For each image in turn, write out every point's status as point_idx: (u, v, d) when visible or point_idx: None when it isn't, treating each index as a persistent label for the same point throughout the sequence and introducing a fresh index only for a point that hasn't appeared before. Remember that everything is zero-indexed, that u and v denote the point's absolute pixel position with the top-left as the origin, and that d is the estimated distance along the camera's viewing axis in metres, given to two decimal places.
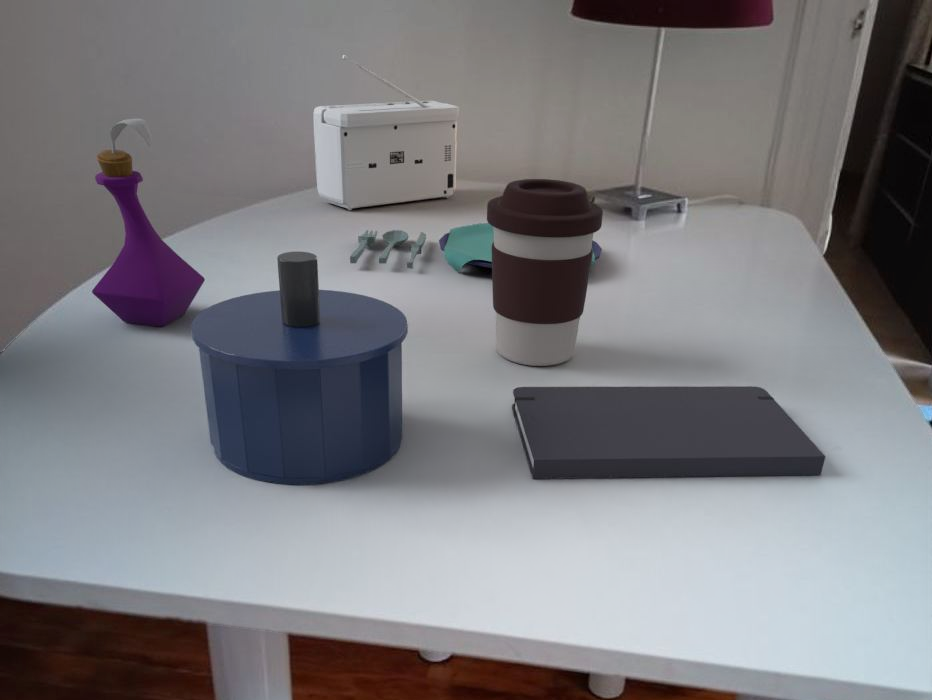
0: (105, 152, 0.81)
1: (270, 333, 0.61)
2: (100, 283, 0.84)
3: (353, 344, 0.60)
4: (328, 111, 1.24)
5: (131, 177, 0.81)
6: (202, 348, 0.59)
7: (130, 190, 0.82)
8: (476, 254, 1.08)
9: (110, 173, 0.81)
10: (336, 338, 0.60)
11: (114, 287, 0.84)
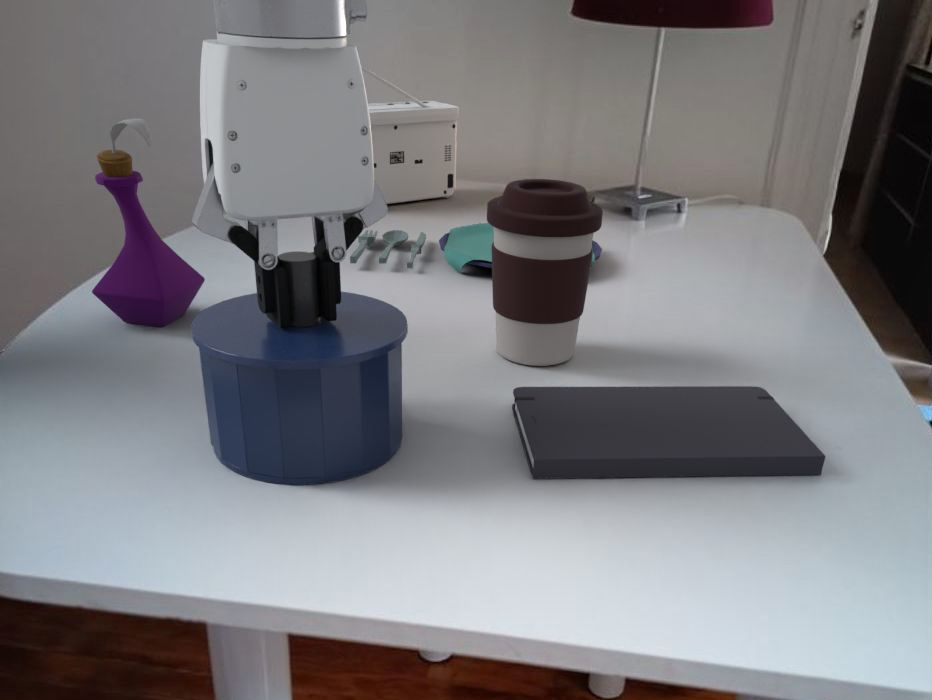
0: (105, 152, 0.81)
1: (270, 333, 0.61)
2: (100, 283, 0.84)
3: (353, 344, 0.60)
4: None
5: (131, 177, 0.81)
6: (202, 348, 0.59)
7: (130, 190, 0.82)
8: (476, 254, 1.08)
9: (110, 173, 0.81)
10: (336, 338, 0.60)
11: (114, 287, 0.84)
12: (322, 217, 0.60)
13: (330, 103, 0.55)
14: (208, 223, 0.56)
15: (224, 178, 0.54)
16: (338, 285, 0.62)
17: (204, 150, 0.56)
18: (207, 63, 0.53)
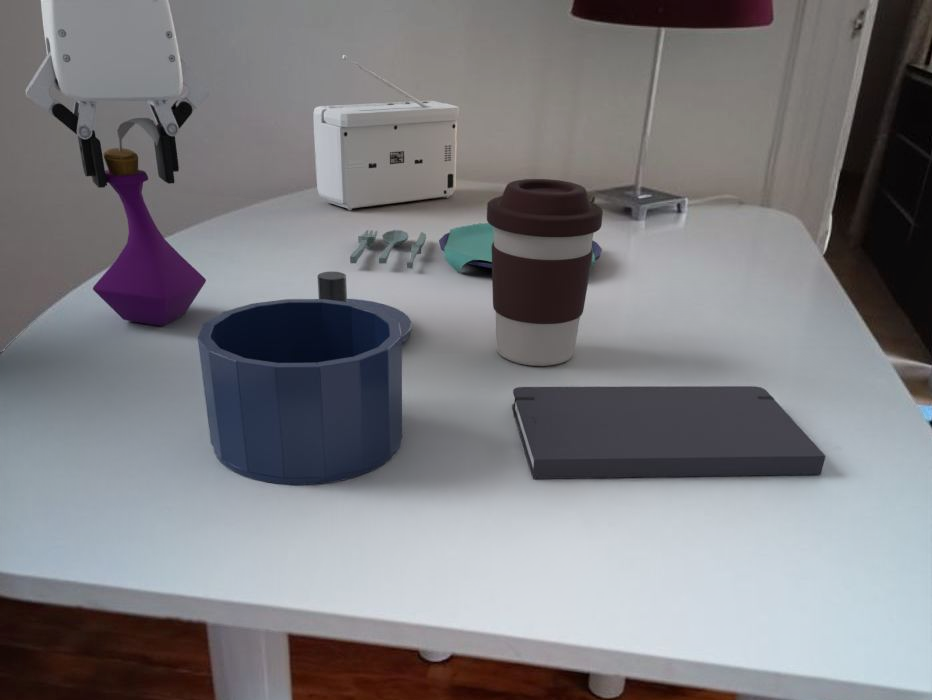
0: (111, 150, 0.81)
1: None
2: (102, 280, 0.84)
3: None
4: (328, 111, 1.24)
5: (137, 175, 0.81)
6: None
7: (135, 188, 0.82)
8: (476, 254, 1.08)
9: (116, 171, 0.81)
10: None
11: (115, 284, 0.84)
12: (152, 103, 0.79)
13: (138, 11, 0.74)
14: (36, 94, 0.75)
15: (58, 65, 0.73)
16: (175, 155, 0.82)
17: (46, 47, 0.75)
18: None
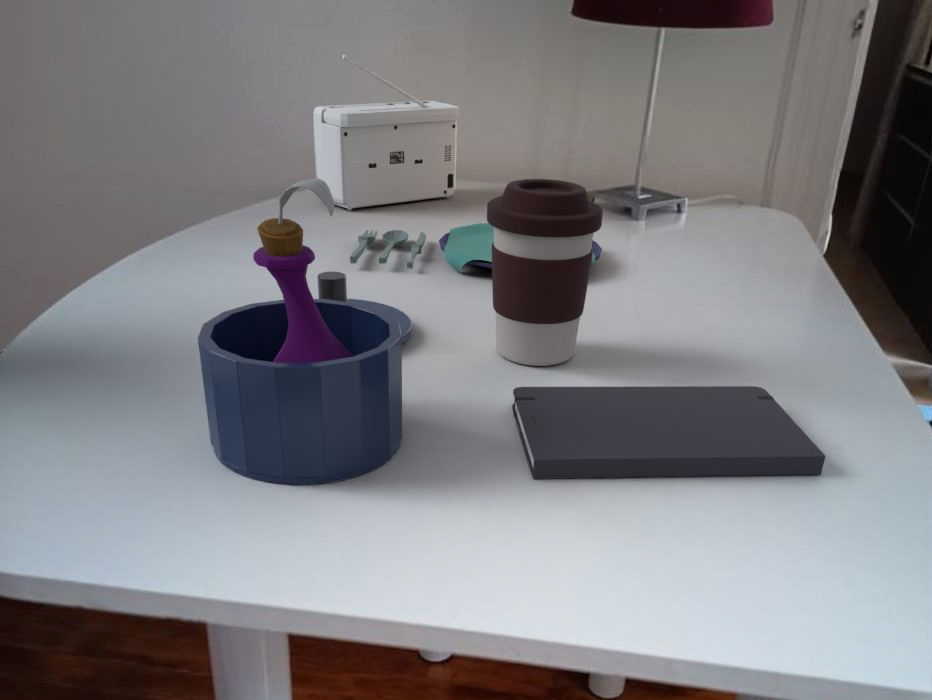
0: (269, 222, 0.60)
1: None
2: None
3: None
4: (328, 111, 1.24)
5: (303, 256, 0.60)
6: None
7: (300, 272, 0.61)
8: (476, 254, 1.08)
9: (276, 251, 0.60)
10: None
11: None
12: None
13: None
14: None
15: None
16: None
17: None
18: None
